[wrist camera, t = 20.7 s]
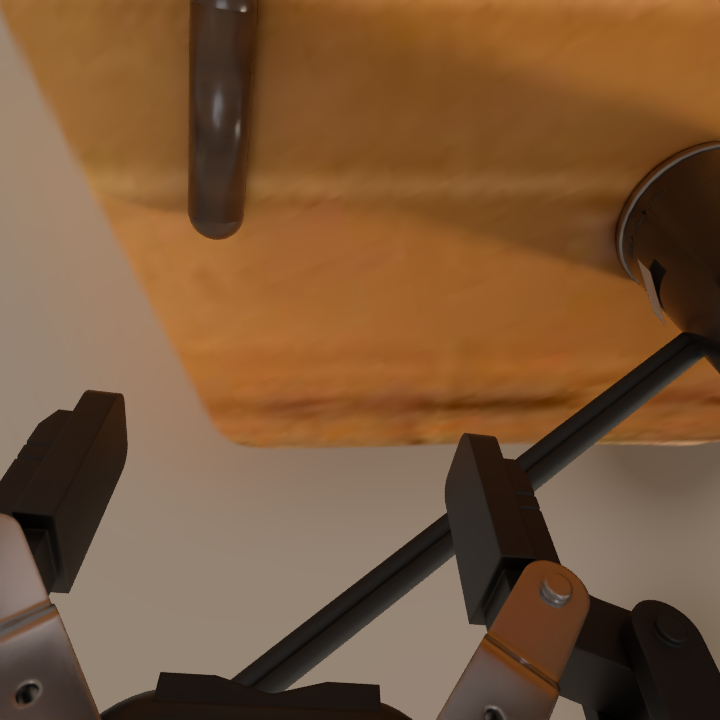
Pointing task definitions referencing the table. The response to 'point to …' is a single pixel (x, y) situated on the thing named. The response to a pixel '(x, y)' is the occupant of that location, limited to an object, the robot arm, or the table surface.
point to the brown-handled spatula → (219, 112)
